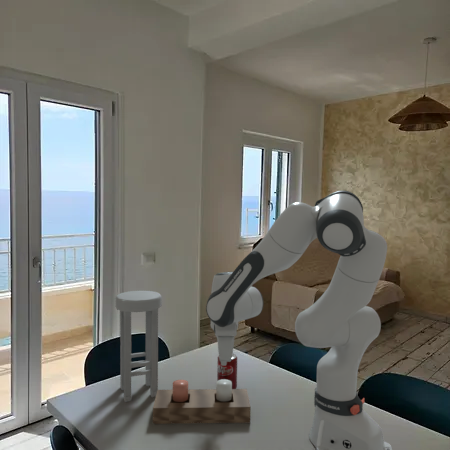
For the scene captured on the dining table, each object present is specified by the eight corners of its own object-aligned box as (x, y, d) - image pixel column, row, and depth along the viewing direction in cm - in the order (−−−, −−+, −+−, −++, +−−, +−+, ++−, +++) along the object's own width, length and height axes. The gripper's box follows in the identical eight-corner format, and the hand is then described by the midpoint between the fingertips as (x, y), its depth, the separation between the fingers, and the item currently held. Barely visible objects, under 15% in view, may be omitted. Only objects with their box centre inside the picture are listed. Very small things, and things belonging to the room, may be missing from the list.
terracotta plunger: (188, 394, 133) (188, 379, 132) (187, 402, 128) (188, 386, 127) (173, 394, 132) (173, 379, 132) (171, 402, 127) (172, 386, 127)
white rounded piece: (231, 394, 133) (231, 379, 133) (232, 401, 128) (232, 386, 128) (215, 394, 133) (216, 379, 133) (216, 401, 128) (216, 386, 128)
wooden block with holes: (246, 403, 137) (246, 388, 137) (250, 422, 125) (250, 406, 125) (157, 404, 136) (157, 389, 136) (152, 423, 124) (152, 408, 124)
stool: (165, 398, 140) (165, 298, 138) (119, 405, 134) (119, 301, 132) (155, 379, 155) (155, 289, 152) (113, 385, 149) (113, 291, 147)
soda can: (229, 394, 143) (229, 361, 143) (213, 388, 148) (213, 356, 147) (240, 387, 149) (241, 355, 148) (225, 381, 153) (225, 350, 153)
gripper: (213, 311, 139) (212, 350, 140) (215, 332, 119) (214, 378, 120) (232, 312, 140) (231, 350, 141) (237, 332, 119) (235, 378, 120)
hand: (223, 363), depth 130 cm, fingers closed
